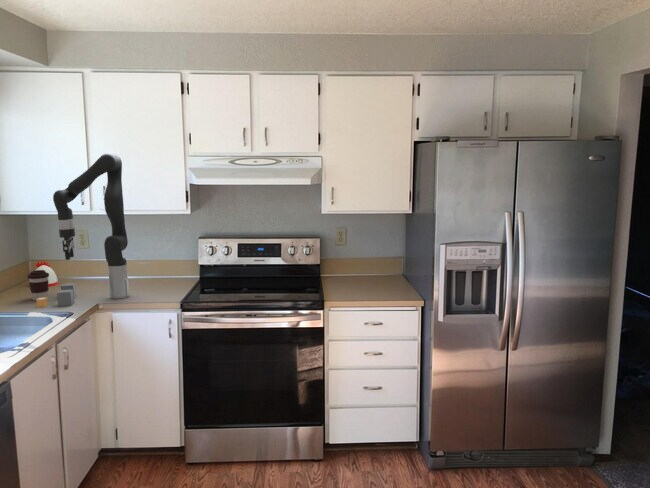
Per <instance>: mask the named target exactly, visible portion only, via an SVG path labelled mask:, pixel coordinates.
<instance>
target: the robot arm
mask: <svg viewBox="0 0 650 488" xmlns="http://www.w3.org/2000/svg"><path fill="white" fill-rule="evenodd" d="M122 172H123V163H122V159H121V157H120V156H119V155H118V154H116V153H104V154H102V155H100V156H99V157H98V159H97V160H95V162H94V163H93V164H92V165H91V166H90V167H89V168H88V169H86V170H85V171H84V172H83V173H81V174H80V175H79V176H78V177H75V179H73V180H72V181H70V182H69V184H68V185H67V186H68V187H66V188H65V189H60V190H59V189H58V190H56V191H54V193H53V196H52V201H53V204H54V207H55V209H56V211H57V220H58V221H57V225H58V234H59V235H58V236H59V238H62V239H63V240H62V241H61V242H62V252H63V253H64V257H65V260H66V261H68V260H69V261H70V260H71V258H74V257H75V255H74V249H75V241H74V237H76V229H75V222H74V221H75V220H74V216H73V209H72V208H70V207H69V206H68V204H69V203H70V202H72V201H74V200H75V199H76V198H77V197H78V196H79V195H80V194H81V193H83V192H84V191H85V190H87V189H88V188H89V187H90V186H91V185H92V184H93V183H94V182H95V181H96V180H97V179H98V178H99V177H101V176H102V175H104V174H106V175H107V183H106V187H105V190H104V194H103V195H104V196H103V200H104V210H105V211H104V212H105V214H106V216H107V218H108V220H109V222H110V225H111V235H109V236H107V237H106V238H105V240H104V247H103V249H104V254H105V260H106V262H107V270H108V271H107V272H108V283H109V298H110V299H125V298H128V297H129V296H130V286H129V277H128V268H127V267H128V266H127V265H128V264H127V259H126V258H124V257H123V256H124V255H123V251H125V250H126V248H127V246H128V244H129V241H128V235H127V229H126V225H125V223H126V222H125V207H124V196H123V185H122V184H123V183H122V180H123V179H122V174H123V173H122Z"/></svg>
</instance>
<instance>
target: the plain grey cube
mask: <svg viewBox="0 0 650 488" xmlns="http://www.w3.org/2000/svg"><path fill="white" fill-rule="evenodd" d="M71 289H73V295H74V299H75V298H76V297H77V287H76V282H70V283H67V282H66V283H62V284H61V285H60V290H71Z"/></svg>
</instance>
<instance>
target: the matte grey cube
mask: <svg viewBox="0 0 650 488" xmlns="http://www.w3.org/2000/svg"><path fill="white" fill-rule="evenodd" d="M74 303H75V298H74V295H73V289H71V290H61V289H59V291H57V305H58V306H57V307H71V306H73V305H74Z"/></svg>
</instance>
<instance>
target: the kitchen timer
mask: <svg viewBox="0 0 650 488" xmlns="http://www.w3.org/2000/svg"><path fill="white" fill-rule="evenodd" d="M48 263H49V261H46V260H45V259H44V260H40V261H39V260H37V263H36V262H35V263H34V264H35V266H36V269H35V270H34V271H36V270H45V271H46V273H49V276H48V288H50V287H54V286H57V285H59V280H58V276H57V274H56V272H55V271H54V270H53V268H52V267H51V264H52V262H50V263H49V265H48Z"/></svg>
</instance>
